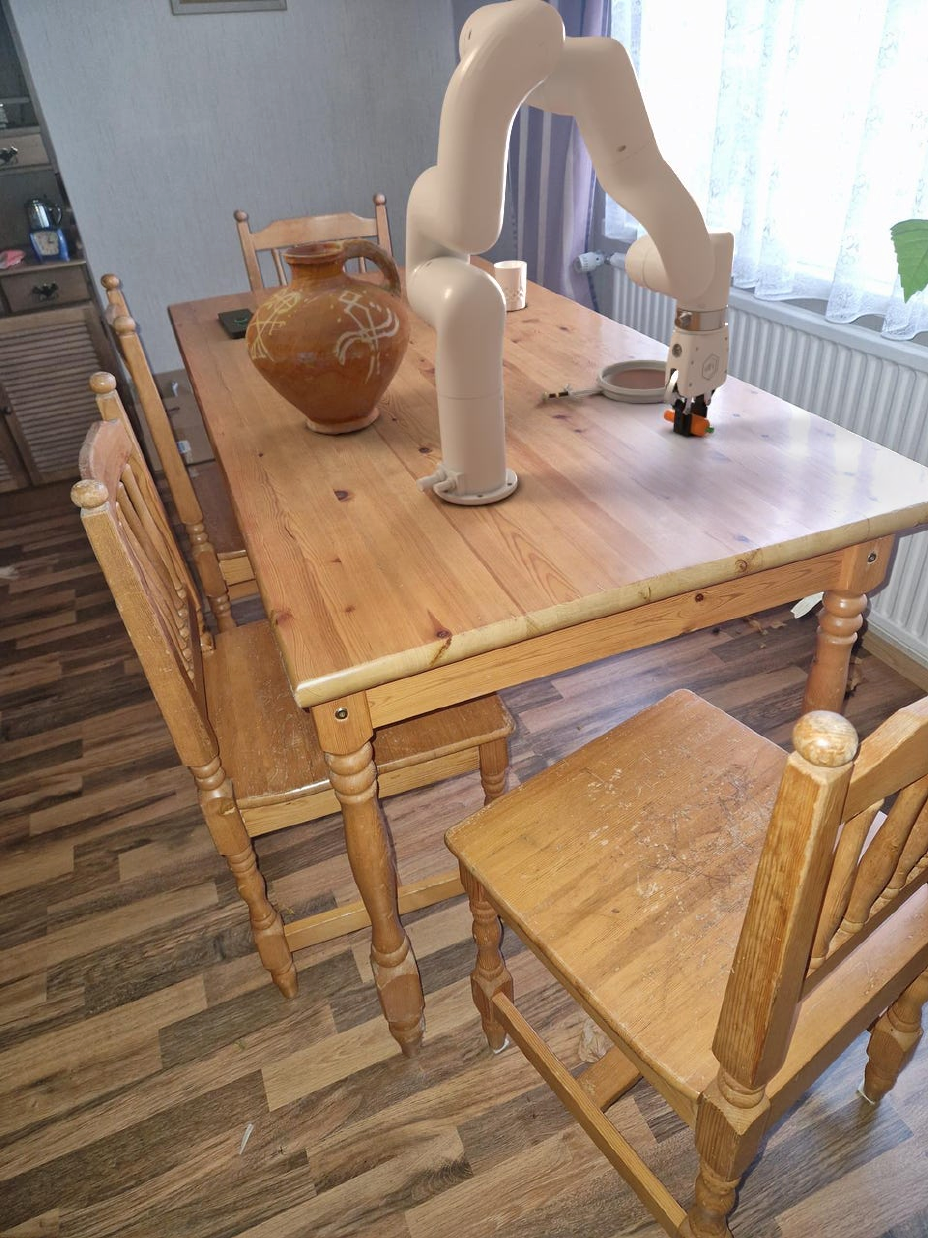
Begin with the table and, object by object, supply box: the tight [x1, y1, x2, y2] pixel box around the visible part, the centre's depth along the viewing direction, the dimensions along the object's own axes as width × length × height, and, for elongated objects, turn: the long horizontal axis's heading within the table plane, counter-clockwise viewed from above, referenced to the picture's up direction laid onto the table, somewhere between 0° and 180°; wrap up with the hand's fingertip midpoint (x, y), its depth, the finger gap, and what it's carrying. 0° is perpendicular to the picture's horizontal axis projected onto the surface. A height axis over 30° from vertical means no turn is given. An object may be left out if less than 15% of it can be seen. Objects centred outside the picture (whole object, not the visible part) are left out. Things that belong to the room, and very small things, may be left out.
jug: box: [244, 238, 411, 435], centre depth 139 cm, size 28×28×30 cm
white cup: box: [493, 260, 527, 312], centre depth 198 cm, size 8×8×10 cm
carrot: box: [663, 409, 715, 437], centre depth 134 cm, size 10×3×3 cm, turn 36°
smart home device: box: [217, 307, 254, 340], centre depth 203 cm, size 8×2×20 cm
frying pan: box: [541, 359, 667, 404], centre depth 150 cm, size 17×3×28 cm
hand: (689, 429), depth 134 cm, fingers closed on carrot, 3 cm apart
